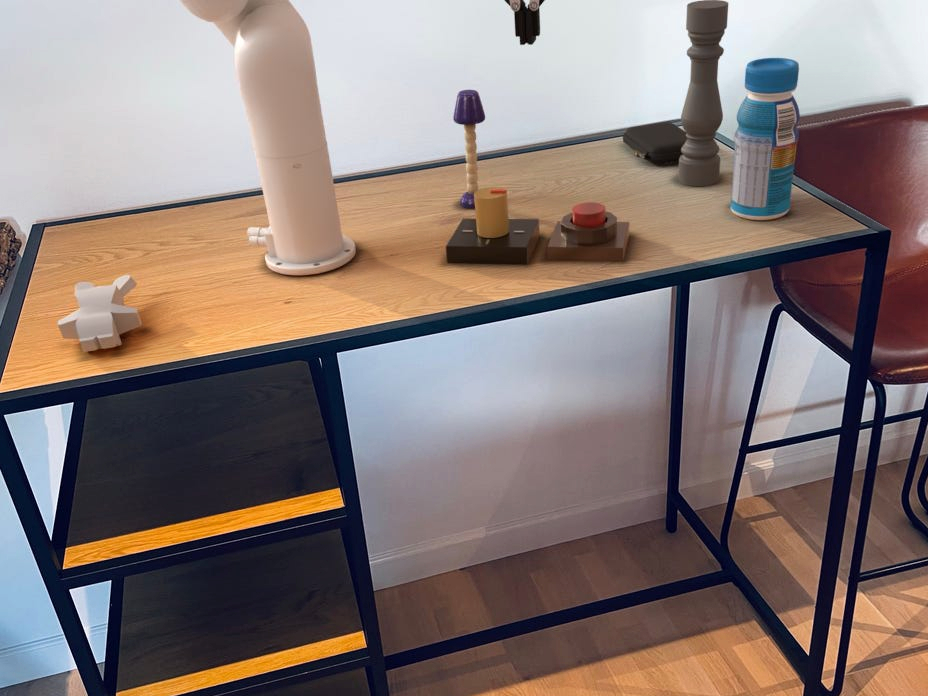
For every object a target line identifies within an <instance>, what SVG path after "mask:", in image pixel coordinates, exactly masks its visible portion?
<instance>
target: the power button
mask: <svg viewBox="0 0 928 696" xmlns="http://www.w3.org/2000/svg"><path fill="white" fill-rule="evenodd" d="M605 211H606V206H605V205H604V204H603V203H600V202H594V201H593V202H590V201H588V202H581V203H577V204H575V205H574V206H572V209H571V213H572V223H573V225H576V226H580V227H595V226H600V225H602V224H604V223H605Z"/></svg>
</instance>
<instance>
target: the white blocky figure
mask: <svg viewBox="0 0 928 696" xmlns="http://www.w3.org/2000/svg"><path fill="white" fill-rule="evenodd" d="M137 285H138V283H137V282H136V281H135V280H134V279H133V277H132V276H131V275H130V274H125V275H122V276H119V277H117V278H116V279H115V280H114V281H113V283H112V284H108V285H98V286H95V285H94V283H92V282H90V281H79V282H77V283H76V284H75V285H74V297H75V298H76V301H77V304H78V307H79V308H78V309H76V310H75V311H73V312H71V313H69V314H68V315H66V316H64V317H63V318H60V319H59V320H57V327H58V329H59V331H60V334H61V336H62V339H66V340H78V341H79V342H78V343H79V344H80V348H81V350H82V353H85V352H92V351H93V352H94V351H98V350H101V349H102V350H103V349H111V348H115V347H116V348H117V347H119V346H121V345H122V344H123V343H122V341H121V337H120V335H122V334H124V333H127V332H129V331H132V330H135V329H137V328H140V327H141V326H142V320H141V316H140V314H139V310H138V308H137V307H132V306H127V305H125V300H124V297H126V296H127V295H128V294H129V293H130V292H131V291H132V290H133V289H135V288H136V287H137Z"/></svg>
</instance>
